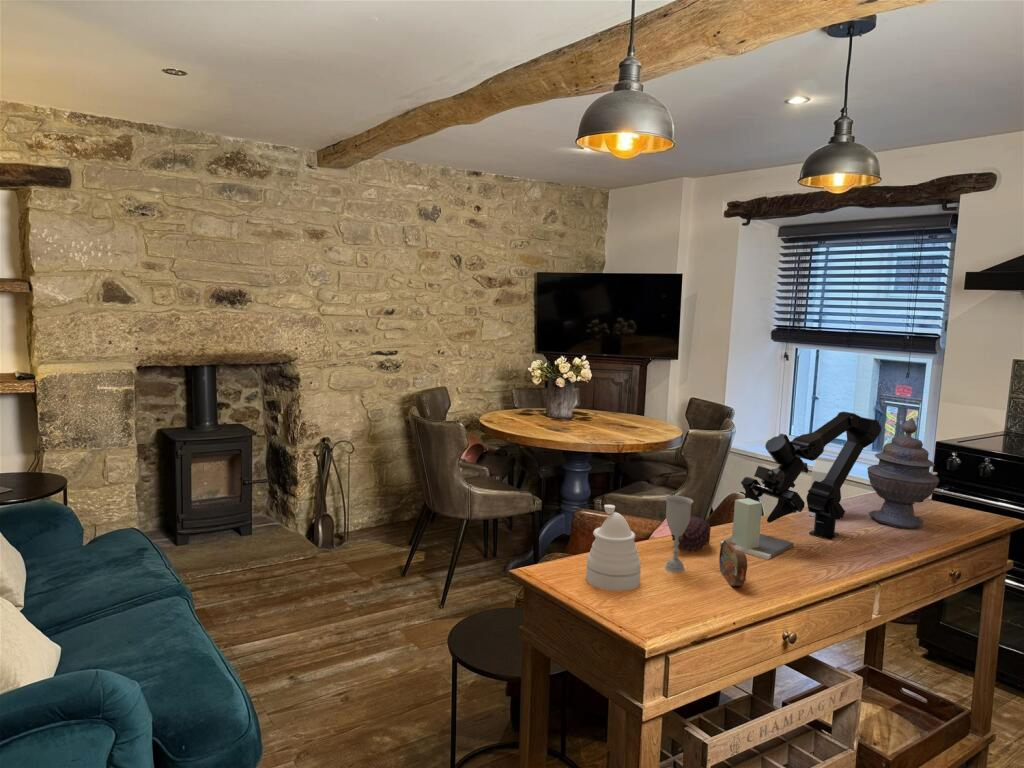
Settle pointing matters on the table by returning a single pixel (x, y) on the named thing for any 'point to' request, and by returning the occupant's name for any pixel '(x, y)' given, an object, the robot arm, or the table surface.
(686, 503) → the chalice
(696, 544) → the pine cone
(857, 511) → the table surface
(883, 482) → the decorative urn
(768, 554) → the mat
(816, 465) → the milk carton
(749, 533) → the sage block
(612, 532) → the honey pot
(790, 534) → the table surface
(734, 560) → the tin
